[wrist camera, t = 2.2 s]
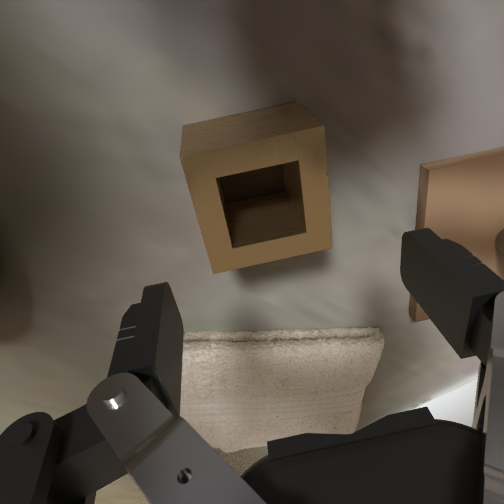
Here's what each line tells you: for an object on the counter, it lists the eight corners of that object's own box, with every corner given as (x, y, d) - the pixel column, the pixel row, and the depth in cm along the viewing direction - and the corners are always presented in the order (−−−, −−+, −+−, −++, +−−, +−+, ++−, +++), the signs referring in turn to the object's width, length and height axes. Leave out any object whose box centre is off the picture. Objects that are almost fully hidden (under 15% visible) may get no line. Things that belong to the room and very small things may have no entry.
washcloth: (145, 326, 27) (140, 359, 24) (381, 317, 29) (399, 346, 27) (156, 426, 33) (152, 461, 30) (349, 411, 36) (362, 443, 33)
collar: (182, 125, 19) (179, 156, 15) (296, 101, 19) (324, 125, 15) (209, 225, 23) (213, 274, 18) (307, 204, 23) (332, 248, 18)
